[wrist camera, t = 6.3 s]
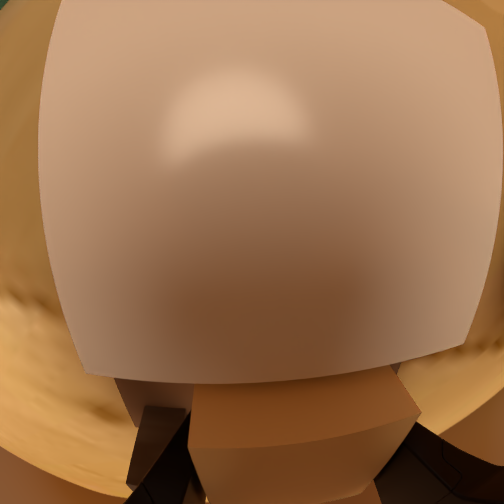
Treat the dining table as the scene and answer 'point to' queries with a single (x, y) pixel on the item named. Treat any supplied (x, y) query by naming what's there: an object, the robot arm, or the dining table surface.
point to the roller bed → (157, 418)
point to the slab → (267, 184)
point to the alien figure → (2, 3)
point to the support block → (297, 436)
